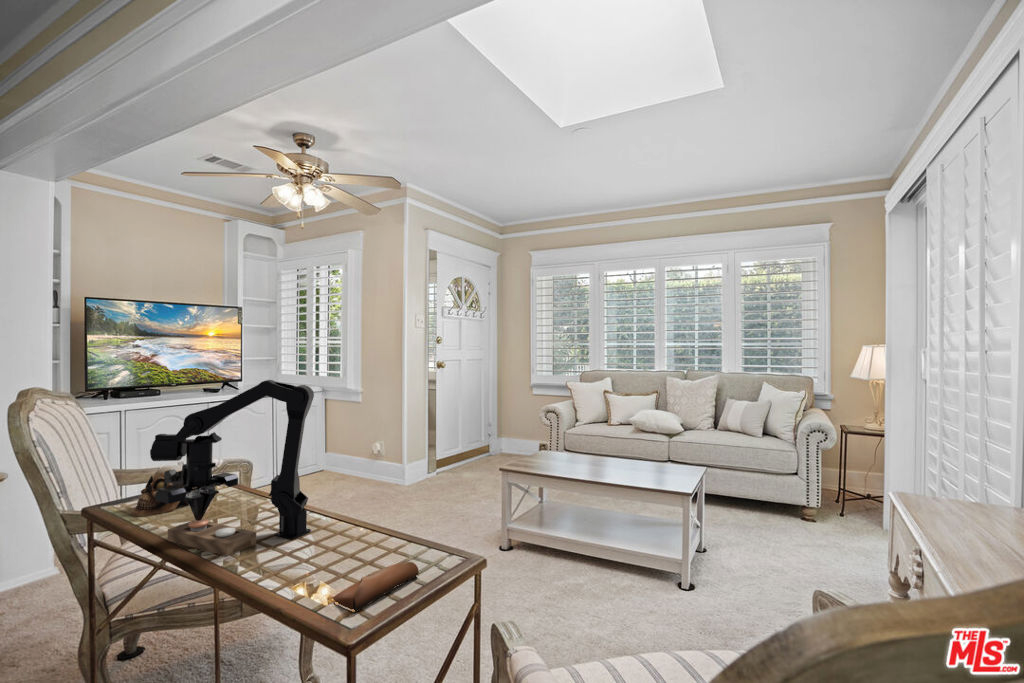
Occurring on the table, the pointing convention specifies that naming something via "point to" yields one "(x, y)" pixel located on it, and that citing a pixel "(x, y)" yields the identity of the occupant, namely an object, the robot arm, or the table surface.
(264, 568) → the table surface
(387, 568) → the sunglasses case
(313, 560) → the table surface
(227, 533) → the white domed knob
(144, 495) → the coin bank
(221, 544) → the walnut panel
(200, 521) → the terracotta plunger
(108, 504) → the table surface
